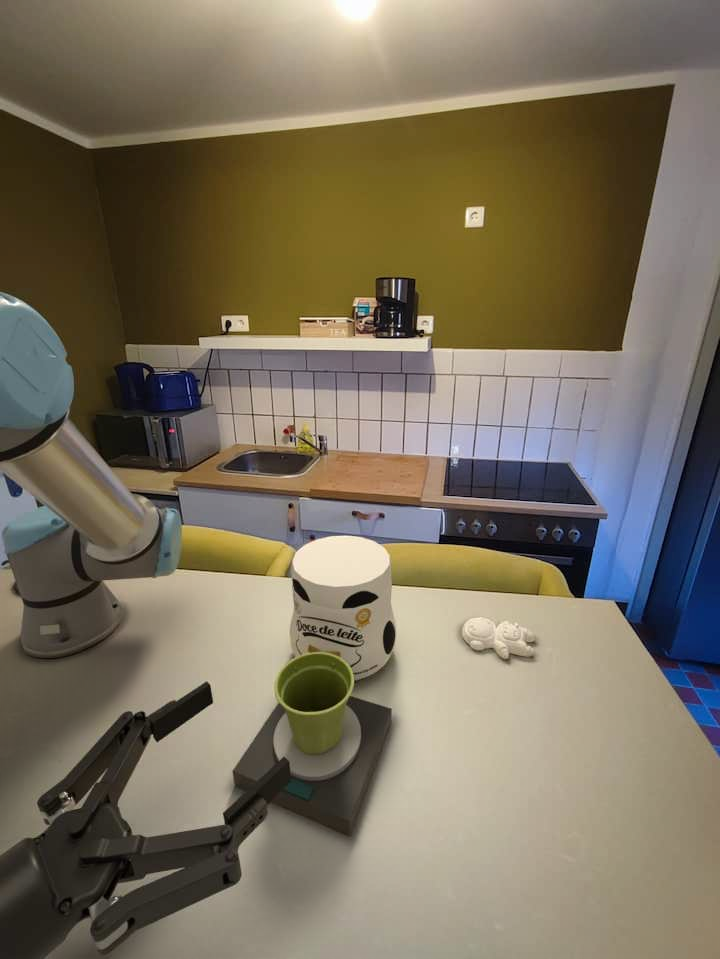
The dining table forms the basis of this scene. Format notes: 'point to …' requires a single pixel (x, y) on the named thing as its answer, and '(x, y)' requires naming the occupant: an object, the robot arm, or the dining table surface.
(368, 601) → the milk container
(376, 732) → the scale
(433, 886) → the dining table surface
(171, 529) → the robot arm
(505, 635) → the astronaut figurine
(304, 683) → the plant pot
